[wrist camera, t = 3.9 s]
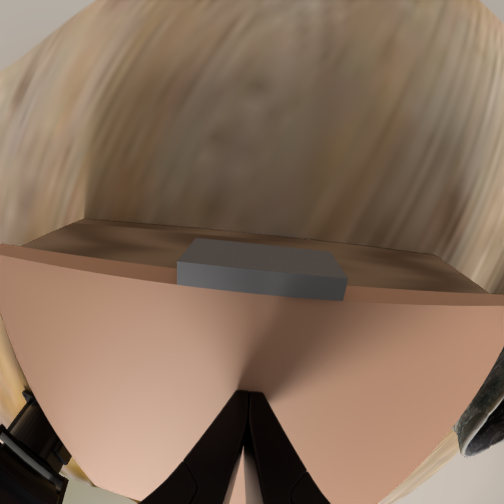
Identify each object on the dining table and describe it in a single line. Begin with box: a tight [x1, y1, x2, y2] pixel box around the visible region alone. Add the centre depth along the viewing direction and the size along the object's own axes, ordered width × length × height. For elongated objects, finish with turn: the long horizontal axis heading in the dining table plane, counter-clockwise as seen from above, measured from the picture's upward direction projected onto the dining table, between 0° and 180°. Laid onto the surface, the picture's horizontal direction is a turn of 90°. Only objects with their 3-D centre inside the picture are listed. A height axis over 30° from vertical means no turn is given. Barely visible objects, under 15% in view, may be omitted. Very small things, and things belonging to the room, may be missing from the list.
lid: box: [0, 238, 504, 504], centre depth 10 cm, size 20×19×2 cm
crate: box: [21, 219, 489, 294], centre depth 14 cm, size 20×18×6 cm
